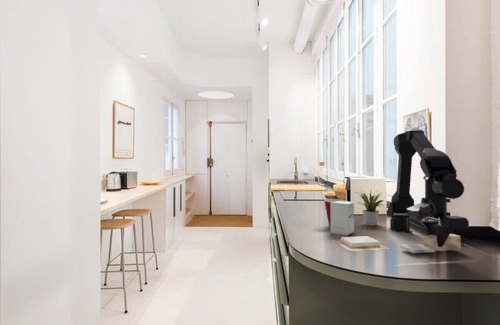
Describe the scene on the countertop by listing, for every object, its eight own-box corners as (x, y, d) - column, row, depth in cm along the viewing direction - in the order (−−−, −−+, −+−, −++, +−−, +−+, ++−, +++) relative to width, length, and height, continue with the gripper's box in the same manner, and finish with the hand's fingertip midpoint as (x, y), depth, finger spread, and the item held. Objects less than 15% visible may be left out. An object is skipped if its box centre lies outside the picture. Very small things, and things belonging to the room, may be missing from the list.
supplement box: (348, 236, 116) (348, 203, 117) (330, 234, 121) (329, 202, 121) (354, 233, 122) (354, 201, 122) (337, 230, 127) (336, 200, 127)
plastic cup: (348, 230, 128) (348, 201, 128) (322, 228, 132) (322, 200, 132) (349, 225, 138) (349, 198, 138) (325, 223, 142) (324, 197, 142)
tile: (367, 236, 108) (341, 237, 107) (380, 241, 100) (351, 243, 99) (367, 240, 108) (341, 241, 107) (380, 246, 100) (351, 248, 99)
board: (368, 239, 111) (368, 238, 111) (390, 250, 98) (390, 249, 98) (331, 241, 110) (331, 239, 110) (349, 252, 96) (349, 250, 96)
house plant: (352, 226, 134) (351, 189, 134) (351, 221, 148) (350, 187, 148) (387, 228, 130) (386, 190, 130) (383, 222, 144) (382, 187, 144)
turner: (449, 245, 98) (449, 232, 98) (464, 250, 92) (464, 237, 92) (400, 247, 96) (400, 234, 96) (412, 253, 90) (412, 239, 90)
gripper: (393, 192, 102) (394, 239, 102) (434, 199, 84) (434, 255, 84) (423, 192, 104) (424, 237, 104) (470, 198, 85) (470, 254, 85)
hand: (436, 245), depth 94 cm, fingers closed on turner, 3 cm apart
